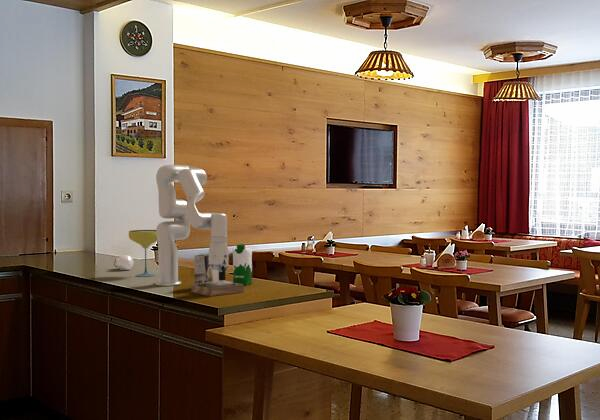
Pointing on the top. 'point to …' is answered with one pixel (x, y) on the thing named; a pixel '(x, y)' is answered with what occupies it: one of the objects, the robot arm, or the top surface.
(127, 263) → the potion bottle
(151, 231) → the cocktail glass
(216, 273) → the plug
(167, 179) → the robot arm
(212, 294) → the walled box
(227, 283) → the block
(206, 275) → the coffee box
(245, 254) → the milk carton
